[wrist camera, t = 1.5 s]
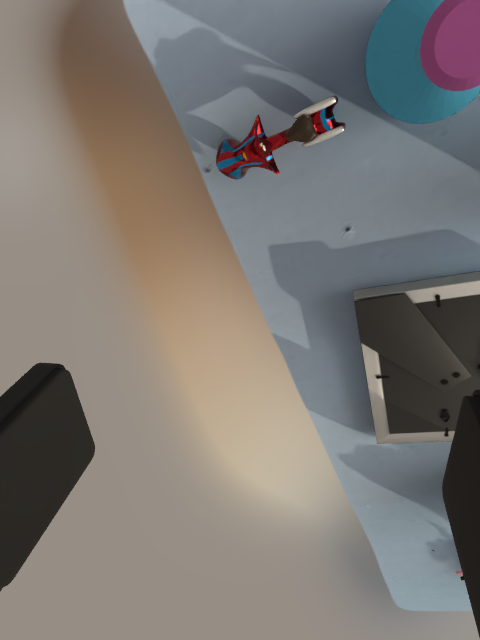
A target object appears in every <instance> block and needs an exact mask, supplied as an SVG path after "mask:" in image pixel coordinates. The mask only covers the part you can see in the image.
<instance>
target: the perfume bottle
mask: <svg viewBox="0 0 480 640" xmlns="http://www.w3.org/2000/svg"><path fill="white" fill-rule="evenodd" d="M365 69H366V77H367V82H368V86H369V89H370V92H371V94H372V96H373V97H374V99H375V101H376V103H377V104H378V105H379V106H380V107H381V108H382V109H383V110H384V111H385V112H386V113H387V114H389V115H390V116H392V117H393V118H395V119H398V120H401V121H403V122H407V123H414V124H422V123H431V122H435V121H439V120H442V119H444V118H447V117H449V116H451V115H453V114H455V113H456V112H458V111H459V110H461V109H462V108H464V107H465V106H467V105H468V104H469V103H470V102H471V101H472V100H473V99H474V98H475V97H476V96H477V95H478V94H479V93H480V0H392V1H391V2H390V3H389V4H388V5H387V7H386V8H385V9H384V10H383V12H382V14H381V15H380V17H379V19H378V20H377V22H376V24H375V26H374V29H373V31H372V33H371V36H370V39H369V43H368V47H367V51H366V64H365Z"/></svg>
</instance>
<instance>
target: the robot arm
mask: <svg viewBox="0 0 480 640" xmlns="http://www.w3.org/2000/svg"><path fill="white" fill-rule="evenodd" d="M94 452H95V445H94V441H93V438H92V436H91V433H90V430H89V427H88V424H87V421H86V418H85V415H84V412H83V409H82V406H81V403H80V400H79V397H78V394H77V391H76V389H75V386H74V382H73V379H72V377H71V374H70V372H69V371H68V370H66V369H65V367H64V366H63V365H61V364H53V363H38V364H36V365H35V366H33V367H32V368H31V369H30V370H29V371H28V372H27V373H26V374H24V376H22V377H21V378H20V379H19V380H18V381H17V382H16V383H15V384H14V385H13V386H11V387H10V388H9V389H8V390H7V391H6V392H5V393H4V394H3V395H2V396H1V397H0V591H1V590H2V588H3V587H5V586H7V585H8V584H9V583H11V581H12V580H13V579H14V577H15V576H16V574H17V573H18V571H19V570H20V568H21V567H22V565H23V564H24V562H25V561H26V559H27V557H28V556H29V555H30V553H31V551H32V550H33V548H34V547H35V545H36V544H37V542H38V541H39V539H40V538H41V536H42V535H43V533H44V532H45V530H46V529H47V527H48V526H49V524H50V523H51V521H52V519H53V518H54V516H55V515H56V513H57V512H58V510H59V509H60V507H61V506H62V504H63V503H64V501H65V500H66V498H67V497H68V495H69V493H70V492H71V491H72V489H73V487H74V486H75V484H76V483H77V481H78V480H79V478H80V477H81V475H82V474H83V472H84V471H85V469H86V468H87V466H88V465H89V463H90V462H91V460H92V458H93V456H94ZM442 491H443V499H444V503H445V507H446V511H447V515H448V518H449V522H450V526H451V530H452V534H453V537H454V541H455V545H456V549H457V553H458V557H459V560H460V564H461V568H462V572H463V576H464V579H465V583H466V587H467V591H468V595H469V599H470V602H471V606H472V610H473V614H474V618H475V621H476V625H477V629H478V633H479V637H480V390H475V391H474V392H473V394H472V396H464V398H463V400H462V404H461V408H460V412H459V416H458V420H457V425H456V429H455V433H454V437H453V441H452V445H451V450H450V454H449V458H448V462H447V466H446V471H445V475H444V479H443V485H442Z"/></svg>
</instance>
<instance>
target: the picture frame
mask: <svg viewBox="0 0 480 640" xmlns="http://www.w3.org/2000/svg"><path fill="white" fill-rule="evenodd" d="M354 303H355V309H356V316H357V322H358V328H359V334H360V341H361V345H362V351H363V358H364V364H365V370H366V376H367V383H368V389H369V395H370V401H371V408H372V414H373V420H374V427H375V433H376V439H377V444H384V443H409V442H434V441H453V437H454V433H455V429H456V425H457V420H458V416H459V412H460V408H461V404H462V400H463V398H464V396H472V394H473V392H474V391H475V390H480V271H479V272H472V273H466V274H459V275H452V276H446V277H439V278H433V279H426V280H420V281H413V282H406V283H400V284H393V285H387V286H380V287H373V288H367V289H360V290H354Z"/></svg>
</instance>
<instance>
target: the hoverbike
mask: <svg viewBox="0 0 480 640" xmlns="http://www.w3.org/2000/svg"><path fill="white" fill-rule="evenodd" d="M337 102H338V97H337V96H332V97H330V98H327V99H325V100H323V101H320V102H318V103H316V104H314V105H312V106H310V107H308V108H305V109H303V110H302V111H300V112H298V113H297V114H296V115H294V117H293V119H297V120H296V121H295V123H294V124H293V126H292V127H291V128H289V129H287V130H285V131H282V132H280V133H277V134H275V135H272V136H270V137H266V135H265V133H264V130H263V127H262V124H261V121H260V117H259V115H258V116H257V117H256V120H255V122H254V125H253V127H252V129H251V131H250V133H249V135H248V136H247V137H246V138H245V140H243V141H242V142H239V141H235V140H232V139H225V140H223V141H222V142H221V144H220V146H219V148H218V152H217V156H216V164H217V167H218V169H219V171H220V172H221V173H223V174H224V175H226V176H227V177H230V178H232V179H241V178H242V177H244V175H245V174H246V172H247V171H248V169H249V168H251V167H262V168H265V169H268V170H271V171H273V172H274V173H276V174H278V173H279V170H278V168H277V166H276V163H275V161H274V158H273V155H272V151H273V150H275V149H277V148H279V147H281V146H283V145H285V144H287V143H289V142H292V141H299V142H305V143H304V144H303V145H302V146H303V147H306V146H311V145H314V144H317V143H319V142H322V141H324V140H327V139H329V138H331V137H333V136H336V135H338V134H340V133H342V132H343V131H344V129H345V126H346V125H345V123H344V122H336V120H335V114H334V112H333V108H334V106H335V105H336V104H337ZM308 115H309V117H308ZM314 135H317V136H315V137H314Z"/></svg>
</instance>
